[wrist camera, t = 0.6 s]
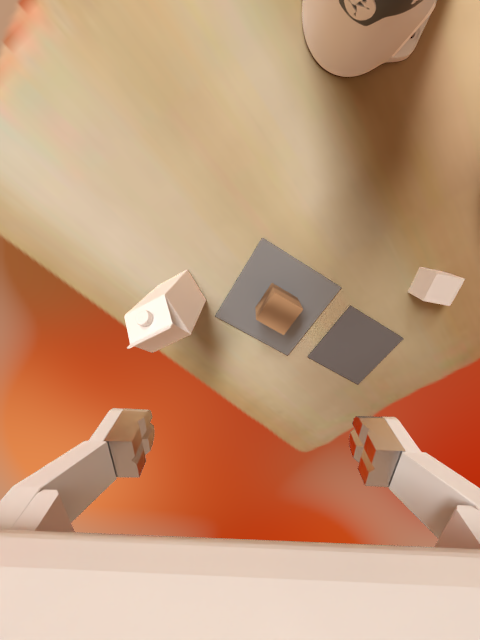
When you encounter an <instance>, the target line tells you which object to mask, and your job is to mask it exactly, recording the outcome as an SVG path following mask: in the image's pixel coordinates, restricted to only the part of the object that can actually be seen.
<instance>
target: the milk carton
mask: <svg viewBox="0 0 480 640" xmlns="http://www.w3.org/2000/svg"><path fill="white" fill-rule="evenodd" d="M205 302H206V299H205V297H204V296H203V294H202V292H201V291H200V289H199V287H198V286H197V284H196V282H195V281H194V279H193V278H192V276H191V274H190V273H189V271H188V270H185V271H183V272H181V273H179V274H178V275H176V276H174V277H172V278H170V279H168V280H166V281H165V282H163V283H161V284H159V285H158V286H157V287H155V288H154V289H153V290H152V291H151V292H150V293H149V294H148V295H147V296H145V297H144V298H143V299H142V300H141V301H140V302H139V303H138V304H137V305H135V306H134V307H133V308H132V309H131V310H130V311H129V312H128V313H127V314H126V315H125V322H126V326H127V331H128V336H129V341H130V345H129V346H128V347H127V348H128V349H129V348H131V347H133V346H135V347H138V348H141V349H144V350H146V351H149V352H152V353H153V352H155V351H157V350H159V349H162V348H164V347H166V346H168V345H170V344H172V343H174V342H176V341H179V340H181V339H183V338H185V337H187V336H189V335H191V333H192V331H193V329H194V326H195V324H196V322H197V320H198V317H199V315H200V313H201V311H202V309H203V306H204V304H205Z"/></svg>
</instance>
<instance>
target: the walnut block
mask: <svg viewBox="0 0 480 640" xmlns="http://www.w3.org/2000/svg"><path fill="white" fill-rule="evenodd" d="M255 309H256V320H257V321H259V322H261V323H263V324H265V325H266V326H268V327H270V328H272V329H274V330H275V331H277V332H279V333H281V334H282V335H284V334H285V333H286V332H287V330H288V329H289V328H290V326H291V325H292V324H293V322H294V321H295V320H296V318H297V317H298V316H299V314H300V313H301V312H302V310H303V308H302V306H301V304H300V302H299V300H298V298H297V297H295V296H294V295H292V294H290V293H289V292H287V291H285V290H284V289H282V288H280V287H279V286H277V285H275V284H274V283H271V285H270V286H269V288H268V289H267V291H266V292H265V294H264V295H263V297H262V298H261V300H260V301H259V303H258V304H257V306H256V307H255Z"/></svg>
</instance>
